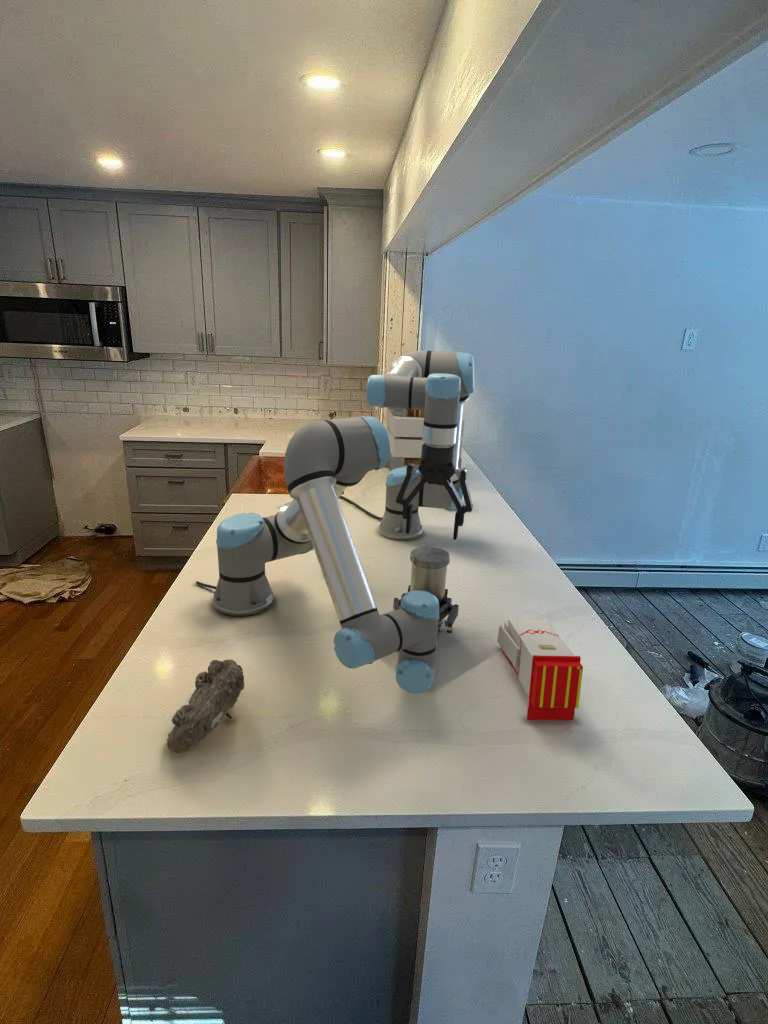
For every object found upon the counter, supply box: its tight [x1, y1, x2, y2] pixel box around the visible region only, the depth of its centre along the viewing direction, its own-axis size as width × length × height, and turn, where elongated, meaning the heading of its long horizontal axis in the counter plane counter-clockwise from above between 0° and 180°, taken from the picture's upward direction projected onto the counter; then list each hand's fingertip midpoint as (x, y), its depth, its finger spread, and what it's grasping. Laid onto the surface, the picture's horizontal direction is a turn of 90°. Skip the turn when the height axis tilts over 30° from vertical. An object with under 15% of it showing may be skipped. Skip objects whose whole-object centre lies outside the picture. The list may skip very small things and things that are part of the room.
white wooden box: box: [385, 407, 465, 472], centre depth 268 cm, size 34×33×41 cm
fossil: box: [166, 658, 245, 754], centre depth 106 cm, size 22×10×15 cm
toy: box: [497, 618, 584, 722], centre depth 122 cm, size 12×13×30 cm
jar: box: [409, 562, 448, 624], centre depth 141 cm, size 9×9×19 cm
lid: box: [409, 545, 451, 569], centre depth 138 cm, size 10×10×2 cm
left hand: (428, 591), depth 146 cm, fingers closed on jar, 9 cm apart
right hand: (431, 534), depth 136 cm, fingers open, 11 cm apart
